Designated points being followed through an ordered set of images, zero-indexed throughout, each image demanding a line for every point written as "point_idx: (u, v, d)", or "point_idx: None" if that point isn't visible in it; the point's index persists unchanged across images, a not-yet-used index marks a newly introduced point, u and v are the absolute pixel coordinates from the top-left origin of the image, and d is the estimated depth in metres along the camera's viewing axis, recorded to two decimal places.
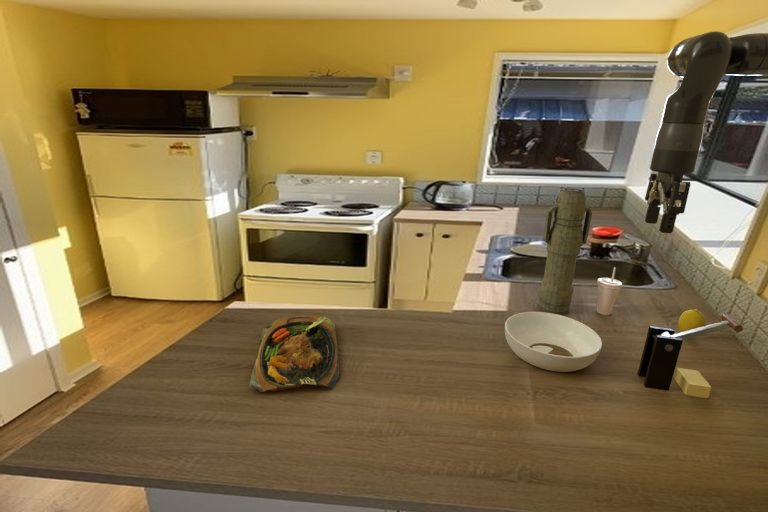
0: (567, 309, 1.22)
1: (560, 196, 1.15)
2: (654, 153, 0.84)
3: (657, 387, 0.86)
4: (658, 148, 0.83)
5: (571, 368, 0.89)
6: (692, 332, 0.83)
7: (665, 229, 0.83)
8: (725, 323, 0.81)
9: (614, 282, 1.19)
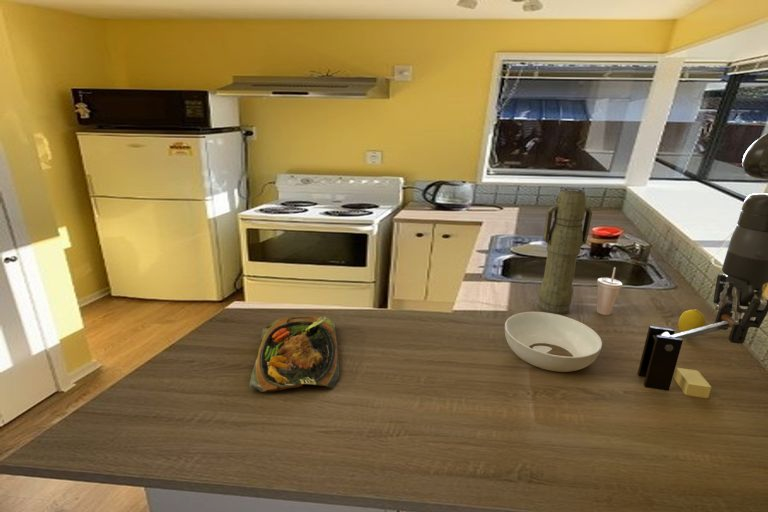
0: (567, 309, 1.22)
1: (560, 196, 1.15)
2: (729, 257, 0.78)
3: (657, 387, 0.86)
4: (734, 253, 0.77)
5: (571, 368, 0.89)
6: (692, 332, 0.83)
7: (736, 340, 0.79)
8: (725, 323, 0.81)
9: (614, 282, 1.19)
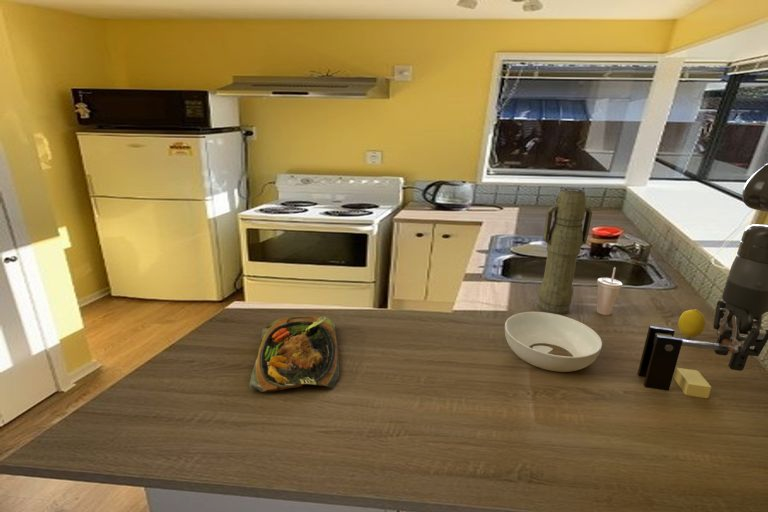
0: (567, 309, 1.22)
1: (560, 196, 1.15)
2: (729, 286, 0.80)
3: (657, 387, 0.86)
4: (734, 282, 0.78)
5: (571, 368, 0.89)
6: (694, 343, 0.84)
7: (736, 367, 0.80)
8: (727, 346, 0.83)
9: (614, 282, 1.19)
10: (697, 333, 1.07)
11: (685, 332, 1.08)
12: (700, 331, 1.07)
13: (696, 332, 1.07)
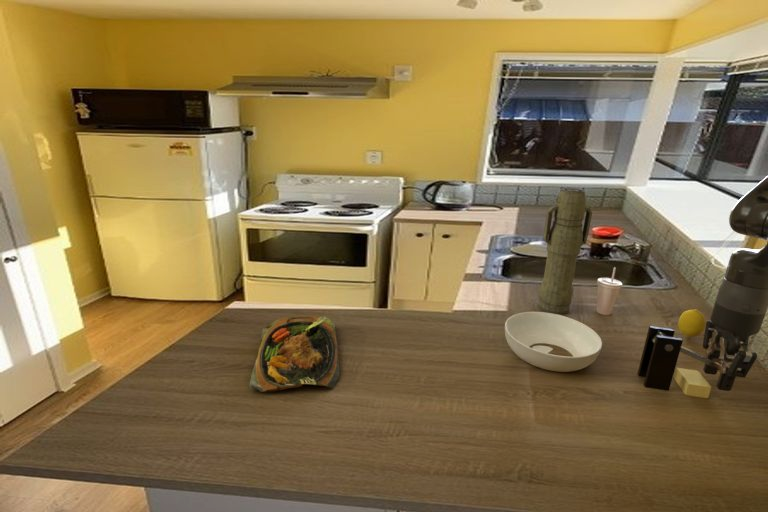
0: (567, 309, 1.22)
1: (560, 196, 1.15)
2: (716, 308, 0.81)
3: (657, 387, 0.86)
4: (722, 305, 0.80)
5: (571, 368, 0.89)
6: (690, 351, 0.85)
7: (723, 388, 0.82)
8: (718, 364, 0.84)
9: (614, 282, 1.19)
10: (697, 333, 1.07)
11: (685, 332, 1.08)
12: (700, 331, 1.07)
13: (696, 332, 1.07)
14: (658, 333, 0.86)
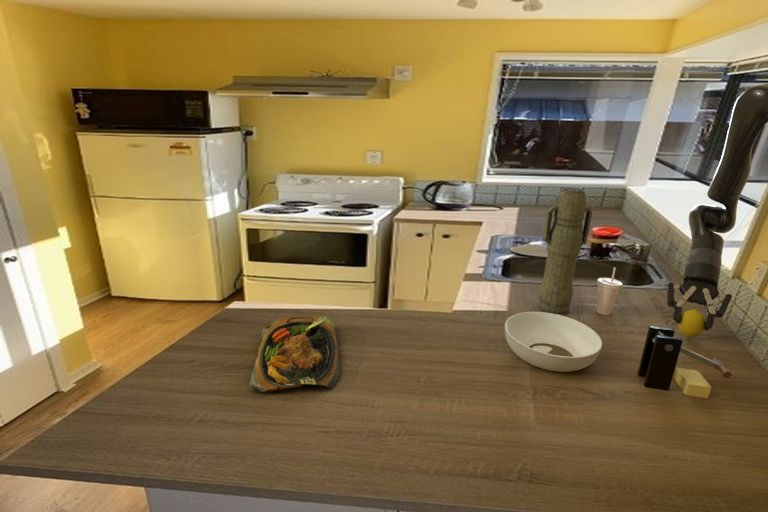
0: (567, 309, 1.22)
1: (560, 196, 1.15)
2: None
3: (657, 387, 0.86)
4: None
5: (571, 368, 0.89)
6: (690, 351, 0.85)
7: (673, 318, 1.10)
8: (718, 364, 0.84)
9: (614, 282, 1.19)
10: (697, 333, 1.07)
11: (685, 332, 1.08)
12: (700, 331, 1.07)
13: (695, 332, 1.07)
14: (658, 333, 0.86)
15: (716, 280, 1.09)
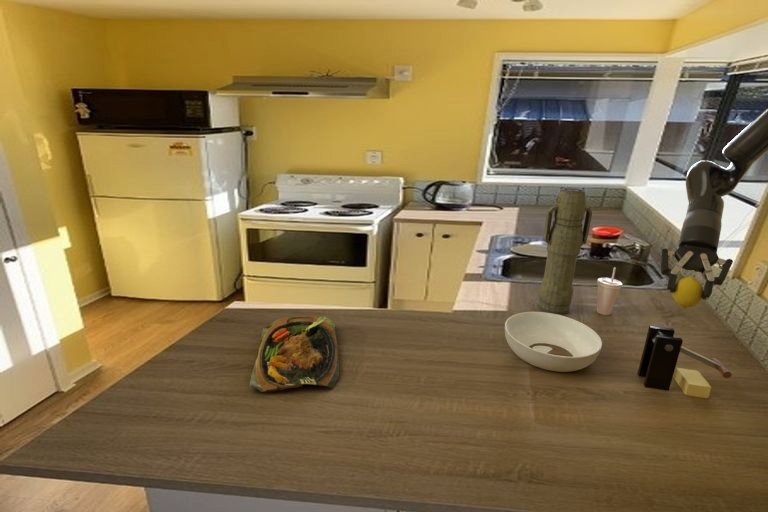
0: (567, 309, 1.22)
1: (560, 196, 1.15)
2: None
3: (657, 387, 0.86)
4: None
5: (571, 368, 0.89)
6: (690, 351, 0.85)
7: (667, 288, 0.99)
8: (718, 364, 0.84)
9: (614, 282, 1.19)
10: (694, 303, 0.96)
11: (680, 302, 0.97)
12: (697, 300, 0.96)
13: (692, 302, 0.96)
14: (658, 333, 0.86)
15: (715, 244, 0.97)
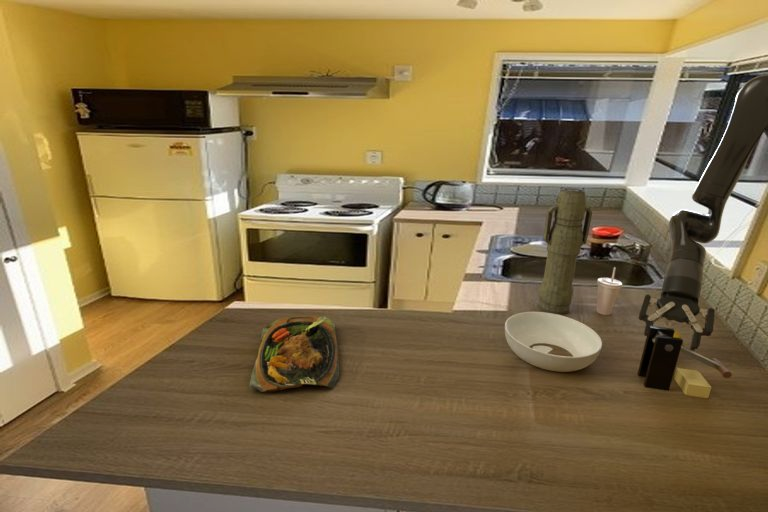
0: (567, 309, 1.22)
1: (560, 196, 1.15)
2: None
3: (657, 387, 0.86)
4: None
5: (571, 368, 0.89)
6: (690, 351, 0.85)
7: (644, 334, 1.00)
8: (718, 364, 0.84)
9: (614, 282, 1.19)
10: None
11: None
12: None
13: None
14: (658, 333, 0.86)
15: (697, 295, 0.98)
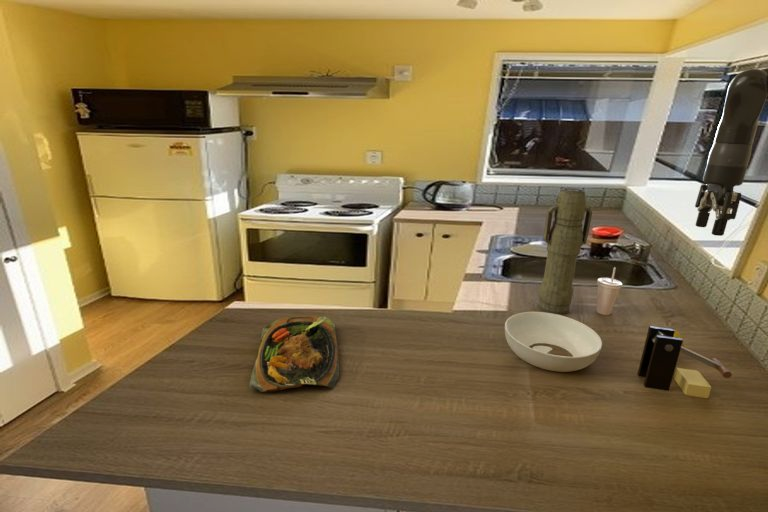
0: (567, 309, 1.22)
1: (560, 196, 1.15)
2: (707, 168, 0.99)
3: (657, 387, 0.86)
4: (712, 164, 0.98)
5: (571, 368, 0.89)
6: (690, 351, 0.85)
7: (717, 232, 0.99)
8: (718, 364, 0.84)
9: (614, 282, 1.19)
10: None
11: None
12: None
13: None
14: (658, 333, 0.86)
15: None
